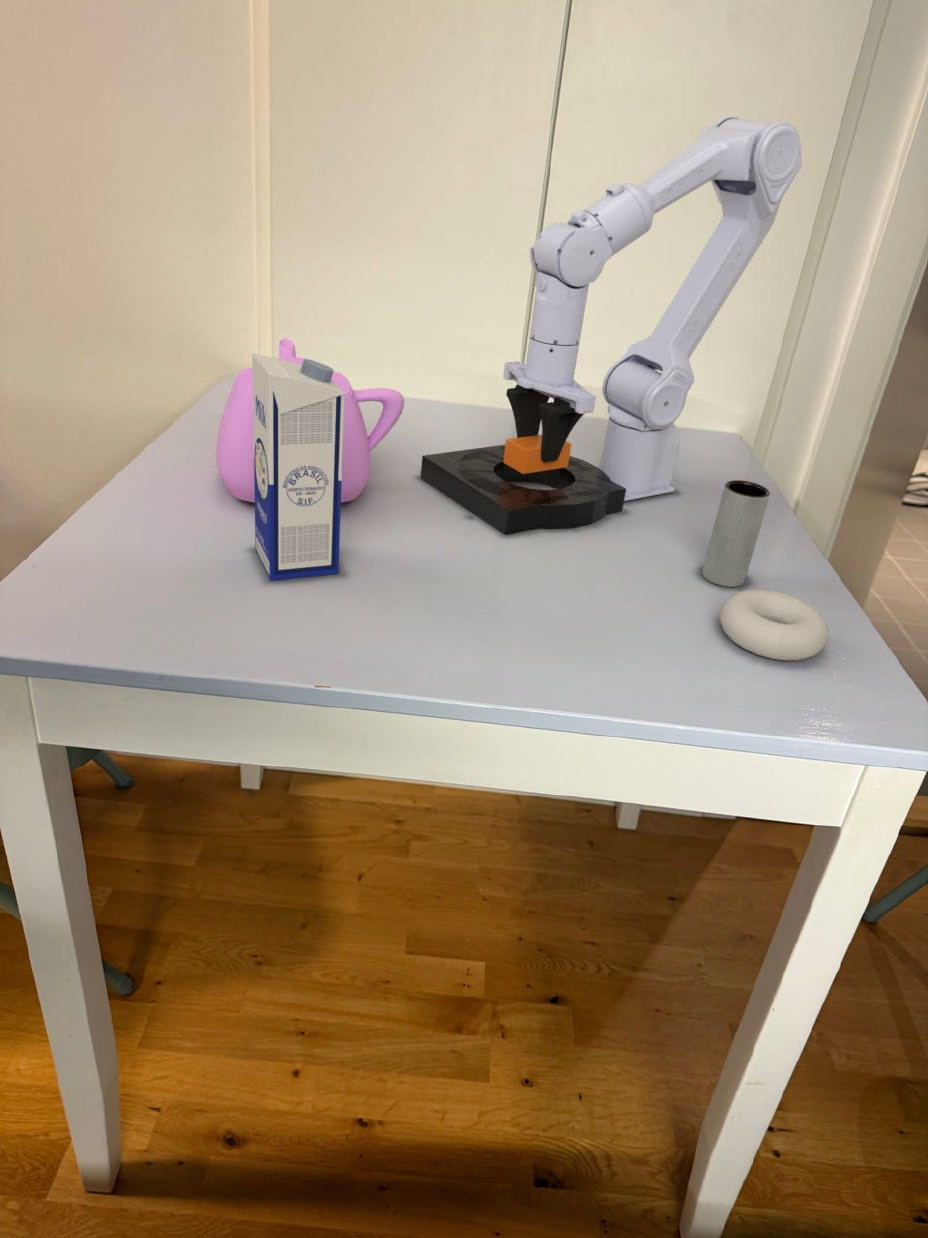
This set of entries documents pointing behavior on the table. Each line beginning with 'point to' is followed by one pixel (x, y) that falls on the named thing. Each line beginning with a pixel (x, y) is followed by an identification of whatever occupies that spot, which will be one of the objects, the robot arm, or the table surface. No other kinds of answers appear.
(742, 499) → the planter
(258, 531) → the milk carton
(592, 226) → the robot arm
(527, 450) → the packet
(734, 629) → the donut
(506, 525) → the square plate with hole
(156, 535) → the table surface
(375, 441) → the teapot
